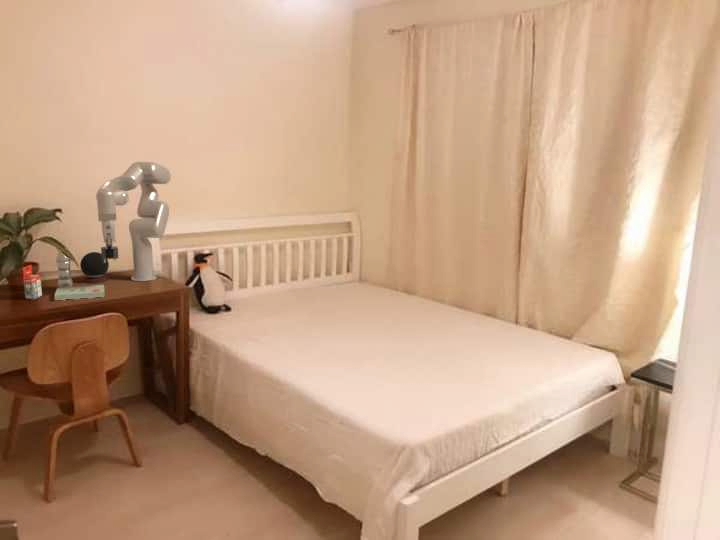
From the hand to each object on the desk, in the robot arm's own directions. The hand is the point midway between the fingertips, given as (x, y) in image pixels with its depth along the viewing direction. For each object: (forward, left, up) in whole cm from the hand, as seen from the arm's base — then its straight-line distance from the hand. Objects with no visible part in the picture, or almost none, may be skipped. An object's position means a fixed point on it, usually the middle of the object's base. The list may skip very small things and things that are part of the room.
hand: (109, 256), depth 261 cm
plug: (0, 0, -3) cm, 3 cm away
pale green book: (+14, +1, -18) cm, 22 cm away
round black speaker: (+8, -28, -18) cm, 34 cm away
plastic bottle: (+21, -15, -18) cm, 31 cm away
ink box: (+33, -1, -18) cm, 37 cm away
